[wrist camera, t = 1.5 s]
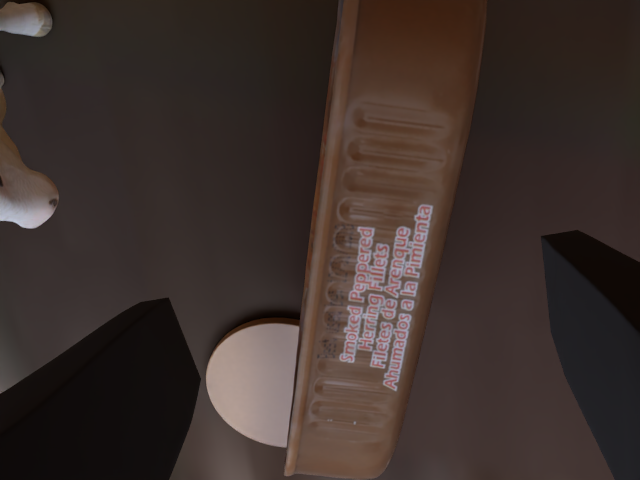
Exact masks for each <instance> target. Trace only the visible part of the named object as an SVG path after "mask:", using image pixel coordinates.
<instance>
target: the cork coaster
mask: <svg viewBox="0 0 640 480" xmlns="http://www.w3.org/2000/svg"><path fill="white" fill-rule="evenodd" d="M299 325H300V320H296V319H290V318H278V317H272V318H262V319H258V320H253V321H250V322H247V323H245V324H242V325H240V326H238V327H236V328H235V329H233V330H232V331H230V332H229V333H228V334H226V335H225V336H224V337H223V338H222V339H221V340H220V342H219V343H218V344H217V345H216V347H215V349H214V351H213V353H212V355H211V357H210V360H209V363H208V365H207V371H206V385H207V390H208V394H209V397H210V399H211V401H212V404H213V406H214V407H215V409H216V410H217V412H218V413H219V414H220V416H221V417H222V418H223V419H224V420H225V421H226V422H227V423H228V424H229V425H230V426H231V427H233V428H234V429H235V430H237V431H238V432H240V433H241V434H243V435H245V436H247V437H249V438H251V439H253V440H255V441H258V442H261V443H264V444H268V445H272V446H278V447H287V436H288V431H289V420H290V412H291V405H292V397H293V385H294V374H295V366H296V353H297V345H298V334H299Z"/></svg>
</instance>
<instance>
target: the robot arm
mask: <svg viewBox="0 0 640 480" xmlns="http://www.w3.org/2000/svg"><path fill="white" fill-rule="evenodd" d="M541 240H542V250H543V259H544V269H545V279H546V288H547V298H548V308H549V318H550V327H551V333H552V337H553V340H554V343H555V346H556V349H557V352H558V356H559V359H560V362H561V365H562V368H563V371H564V374H565V377H566V379H567V381H568V383H569V385H570V388H571V390H572V392H573V394H574V396H575V398H576V400H577V402H578V404H579V406H580V409H581V411H582V413H583V415H584V417H585V419H586V421H587V423H588V425H589V427H590V429H591V431H592V433H593V435H594V437H595V439H596V441H597V444H598V446H599V448H600V450H601V452H602V454H603V456H604V458H605V460H606V462H607V464H608V466H609V468H610V470H611V472H612V474H613V476H614V479H615V480H640V262H638V261H636V260H634V259H632V258H630V257H628V256H626V255H624V254H622V253H621V252H619V251H617V250H615V249H613V248H611V247H609V246H607V245H606V244H604V243H602V242H600V241H598V240H596V239H594V238H593V237H591V236H589V235H587V234H585V233H583V232H580V231H578V230H575V231H569V232H563V233H557V234H551V235H545V236H541ZM200 381H201V378H200V375H199V373H198V370H197V368H196V365H195V363H194V360H193V358H192V355H191V353H190V350H189V348H188V345H187V343H186V340H185V338H184V335H183V333H182V330H181V328H180V325H179V322H178V320H177V317H176V315H175V312H174V310H173V307H172V305H171V302H170V300H169V298H163V299H157V300H151V301H145V302H140V303H138V304H136V305H134V306H132V307H131V308H129V309H127V310H125V311H124V312H122V313H120V314H119V315H117V316H116V317H114V318H113V319H111V320H110V321H108V322H107V323H105V324H104V325H102V326H101V327H99V328H98V329H97V330H95V331H94V332H92V333H91V334H89V335H88V336H86V337H85V338H84V339H82V340H81V341H79V342H78V343H76V344H75V345H74V346H72V347H71V348H69V349H68V350H66V351H65V352H64V353H62V354H61V355H59V356H58V357H56V358H55V359H53V360H52V361H50V362H49V363H47V364H46V365H44V366H43V367H41V368H40V369H38V370H37V371H35V372H34V373H32V374H31V375H29V376H27V377H26V378H24V379H23V380H21V381H20V382H18V383H17V384H15V385H14V386H12V387H11V388H9V389H7V390H6V391H4V392H3V393H1V394H0V480H169V478H170V476H171V473H172V471H173V468H174V466H175V463H176V461H177V458H178V456H179V453H180V450H181V448H182V445H183V443H184V440H185V438H186V435H187V432H188V430H189V427H190V424H191V421H192V417H193V413H194V409H195V405H196V400H197V396H198V391H199V386H200Z"/></svg>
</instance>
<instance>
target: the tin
mask: <svg viewBox="0 0 640 480" xmlns="http://www.w3.org/2000/svg"><path fill="white" fill-rule="evenodd" d="M486 13H487V0H339V3H338V13H337V26H336V31H335V39H334V45H333V52H332V61H331V68H330V77H329V84H328V93H327V100H326V109H325V117H324V125H323V134H322V142H321V149H320V158H319V166H318V173H317V182H316V190H315V197H314V205H313V213H312V221H311V229H310V237H309V247H308V255H307V262H306V272H305V286H304V291H303V298H302V306H301V315H300V325H299V334H298V345H297V353H296V366H295V374H294V385H293V397H292V405H291V412H290V420H289V431H288V436H287V448H286V457H285V465H284V475H285V476H291V475H293V474H295V473H300V474H308V475H318V476H328V477H337V478H347V479H373V478H376V477H378V476H379V475H381V474H382V473H383V472H384V470H385V469H386V468H387V466H388V464H389V462H390V460H391V458H392V456H393V453H394V450H395V448H396V445H397V442H398V439H399V435H400V431H401V428H402V424H403V420H404V416H405V412H406V407H407V403H408V399H409V395H410V391H411V387H412V383H413V379H414V375H415V371H416V367H417V363H418V359H419V354H420V349H421V345H422V341H423V337H424V333H425V329H426V324H427V320H428V316H429V312H430V307H431V303H432V298H433V294H434V289H435V284H436V280H437V276H438V272H439V268H440V264H441V259H442V255H443V250H444V246H445V241H446V237H447V232H448V227H449V222H450V217H451V213H452V210H453V206H454V202H455V196H456V191H457V186H458V182H459V177H460V173H461V168H462V164H463V159H464V154H465V150H466V145H467V141H468V136H469V132H470V127H471V122H472V116H473V111H474V105H475V99H476V94H477V88H478V81H479V74H480V68H481V61H482V52H483V44H484V36H485V28H486Z"/></svg>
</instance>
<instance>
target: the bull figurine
mask: <svg viewBox="0 0 640 480" xmlns="http://www.w3.org/2000/svg"><path fill="white" fill-rule="evenodd" d="M51 28H52V17H51V14H50V12H49V11H48V10H47V9H46V8H45V7H44V6H43V5H41V4H40V3H35V2H30V3H25V4H17V3H14V2H8V3H6V5H5V6H4V7H3V8H2V9H0V31H1V30H3V31H7V32H9V33H13V34H23V35H29V36H34V37H42V36H45V35H46V34H47V33H48V32H49V31H50V30H51ZM3 84H4V77H3V75H2V73H1V71H0V221H13V222H15V223H17V224H18V225H20V226H21V227H24V228H36V227H38V226H40V225H41V224H43V223H44V222H45V221H46V220H48V219H49V218H50V217H51V216H52V214H53V213H54V211H55V209H56V207H57V205H58V200H59V193H58V190H57V188H56V186H55V185H54V183H53V182H52V181H51V179H49V178H48V177H47V176H46V175H44V174H42V173H40V172H36V171H33V170H30V169H29V168H27V167H26V166H25V165H24V163H23V162H22V160H21V157H20V154H19V151H18V149H17V147H16V146H15V144H14V143H13V141H12V140H11V139H10V137H9V136H8V135H7V133H6V132H5V130H4V129H3V127H2V121H3V119H4V117H5V114H6V101H5V97H4V94H3V91H2V90H1V87H2V86H3Z"/></svg>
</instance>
